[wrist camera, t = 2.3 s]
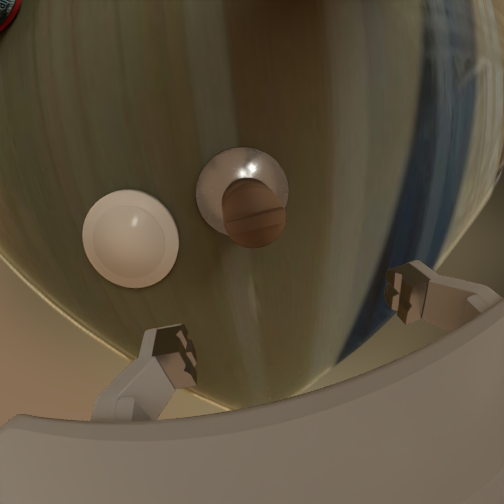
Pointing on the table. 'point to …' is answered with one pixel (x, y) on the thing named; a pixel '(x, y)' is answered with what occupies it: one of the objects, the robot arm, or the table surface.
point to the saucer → (131, 238)
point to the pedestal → (229, 170)
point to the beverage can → (8, 11)
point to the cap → (252, 213)
